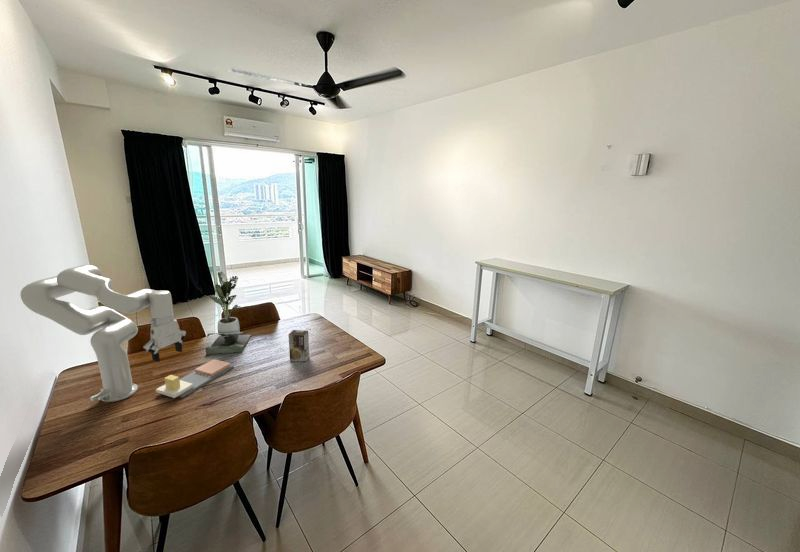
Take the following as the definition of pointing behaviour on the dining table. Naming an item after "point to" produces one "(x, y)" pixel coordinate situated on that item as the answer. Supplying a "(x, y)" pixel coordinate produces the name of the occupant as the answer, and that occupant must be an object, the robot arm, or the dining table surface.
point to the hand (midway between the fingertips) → (168, 355)
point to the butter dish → (174, 386)
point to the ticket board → (199, 380)
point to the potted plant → (227, 322)
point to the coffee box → (299, 345)
